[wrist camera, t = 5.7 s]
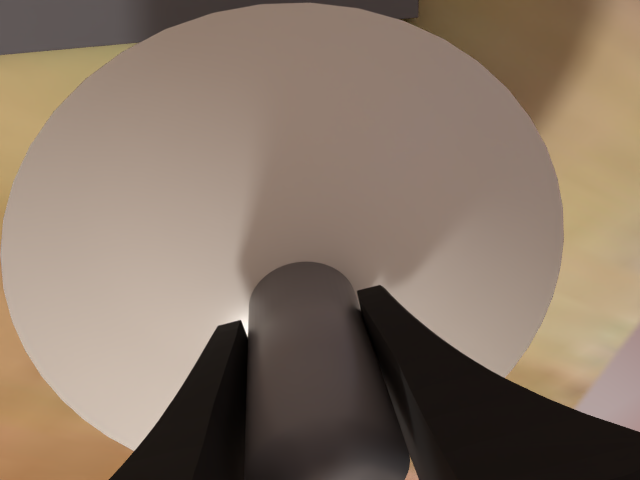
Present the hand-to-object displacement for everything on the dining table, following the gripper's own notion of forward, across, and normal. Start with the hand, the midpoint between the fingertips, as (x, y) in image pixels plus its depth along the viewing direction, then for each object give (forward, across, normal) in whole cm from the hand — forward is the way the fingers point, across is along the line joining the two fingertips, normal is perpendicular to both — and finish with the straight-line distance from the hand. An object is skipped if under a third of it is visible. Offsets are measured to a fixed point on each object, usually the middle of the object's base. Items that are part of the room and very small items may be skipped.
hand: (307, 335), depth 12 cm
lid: (+2, 0, 0) cm, 2 cm away
